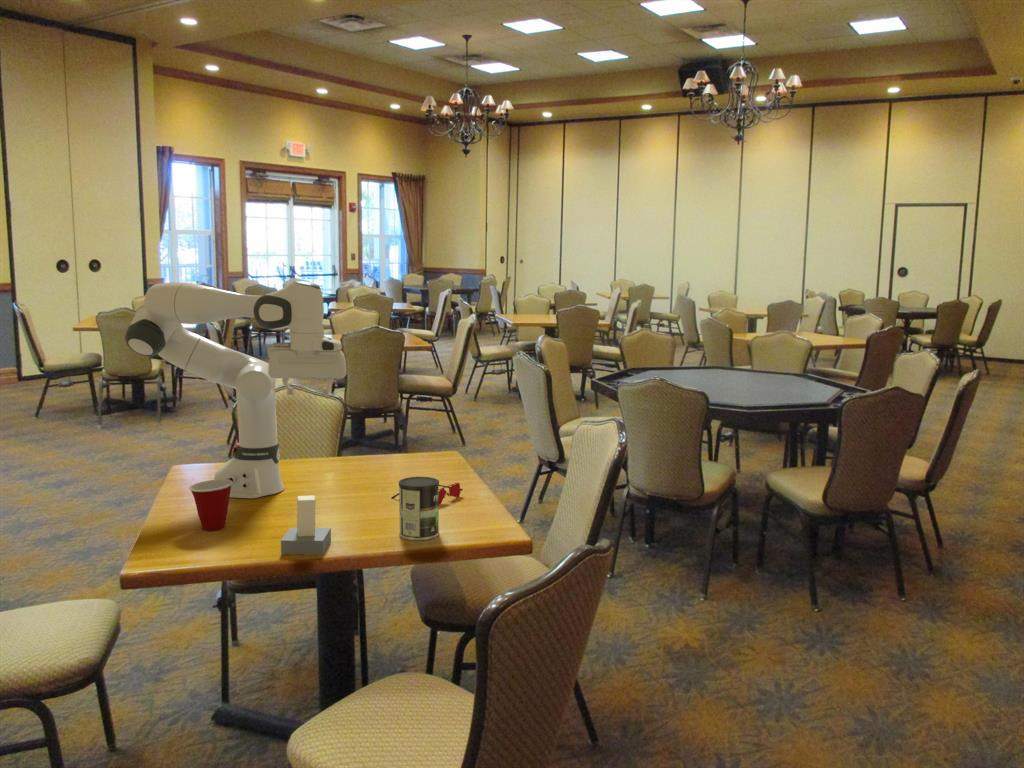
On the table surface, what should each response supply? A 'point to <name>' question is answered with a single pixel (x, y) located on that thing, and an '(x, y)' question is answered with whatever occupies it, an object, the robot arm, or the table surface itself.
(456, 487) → the glasses
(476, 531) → the table surface
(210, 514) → the plastic cup
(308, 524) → the cream block
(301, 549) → the gray square block
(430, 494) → the coffee can
